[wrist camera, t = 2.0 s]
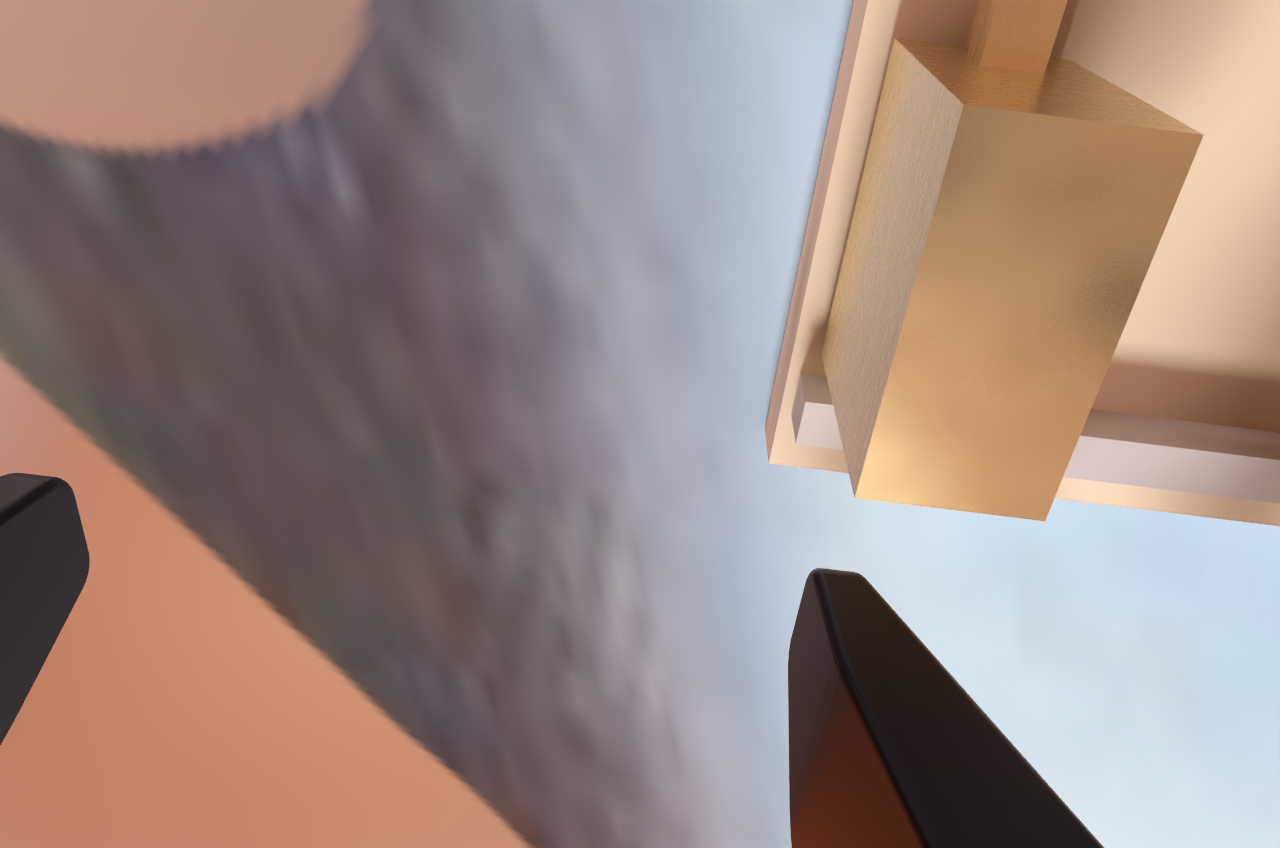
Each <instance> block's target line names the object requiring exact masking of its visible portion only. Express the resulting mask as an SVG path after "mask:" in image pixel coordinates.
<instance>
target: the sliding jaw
mask: <svg viewBox="0 0 1280 848" xmlns="http://www.w3.org/2000/svg"><path fill="white" fill-rule="evenodd" d="M1067 1H1068V0H979V1H978V5H977V8H976V12H975V16H974V19H973V23H972V27H971V30H970V34H969V38H968V42H967V45H966V47H964V46H956V45H948V44H940V43H932V42H924V41H916V40H908V39H900V38H894V41H893V46H892V50H891V54H890V59H889V63H888V67H887V72H886V76H885V80H884V85H883V89H882V93H881V97H880V102H879V106H878V110H877V115H876V119H875V123H874V128H873V132H872V136H871V141H870V145H869V149H868V153H867V158H866V162H865V166H864V171H863V175H862V179H861V184H860V188H859V192H858V197H857V201H856V205H855V209H854V214H853V218H852V222H851V227H850V231H849V235H848V240H847V244H846V248H845V253H844V257H843V261H842V265H841V270H840V274H839V278H838V283H837V287H836V291H835V296H834V300H833V304H832V309H831V313H830V317H829V321H828V326H827V330H826V334H825V339H824V343H823V347H822V352H821V356H822V360H823V364H824V369H825V373H826V377H827V381H828V386H829V390H830V394H831V399H832V403H833V407H834V411H835V416H836V420H837V424H838V428H839V433H840V437H841V441H842V446H843V450H844V454H845V458H846V463H847V467H848V471H849V476H850V480H851V484H852V488H853V493H854V497H855V498H861V499H869V500H877V501H885V502H893V503H901V504H910V505H918V506H926V507H934V508H942V509H950V510H958V511H967V512H975V513H983V514H991V515H999V516H1007V517H1015V518H1024V519H1032V520H1040V521H1045V520H1046V517H1047V515H1048V512H1049V510H1050V507H1051V505H1052V503H1053V500H1054V498H1055V495H1056V493H1057V490H1058V488H1059V486H1060V483H1061V481H1062V478H1063V476H1064V473H1065V471H1066V469H1067V466H1068V464H1069V461H1070V459H1071V456H1072V454H1073V452H1074V449H1075V447H1076V444H1077V442H1078V439H1079V437H1080V435H1081V432H1082V430H1083V427H1084V425H1085V422H1086V420H1087V417H1088V415H1089V413H1090V410H1091V408H1092V405H1093V403H1094V400H1095V398H1096V396H1097V393H1098V391H1099V388H1100V386H1101V383H1102V381H1103V379H1104V376H1105V374H1106V371H1107V369H1108V366H1109V364H1110V362H1111V359H1112V357H1113V354H1114V352H1115V349H1116V347H1117V345H1118V342H1119V340H1120V337H1121V335H1122V332H1123V330H1124V328H1125V325H1126V323H1127V320H1128V318H1129V315H1130V313H1131V311H1132V308H1133V306H1134V303H1135V301H1136V298H1137V296H1138V293H1139V291H1140V289H1141V286H1142V284H1143V281H1144V279H1145V276H1146V274H1147V272H1148V269H1149V267H1150V264H1151V262H1152V259H1153V257H1154V255H1155V252H1156V250H1157V247H1158V245H1159V242H1160V240H1161V238H1162V235H1163V233H1164V230H1165V228H1166V225H1167V223H1168V221H1169V218H1170V216H1171V213H1172V211H1173V208H1174V206H1175V204H1176V201H1177V199H1178V196H1179V194H1180V191H1181V189H1182V187H1183V184H1184V182H1185V179H1186V177H1187V174H1188V172H1189V170H1190V167H1191V165H1192V162H1193V160H1194V157H1195V155H1196V152H1197V150H1198V148H1199V145H1200V143H1201V140H1202V138H1203V134H1202V133H1200V132H1198V131H1196V130H1194V129H1193V128H1191V127H1189V126H1187V125H1186V124H1184V123H1182V122H1180V121H1178V120H1177V119H1175V118H1173V117H1171V116H1170V115H1168V114H1166V113H1164V112H1162V111H1161V110H1159V109H1157V108H1155V107H1154V106H1152V105H1150V104H1148V103H1146V102H1145V101H1143V100H1141V99H1139V98H1137V97H1136V96H1134V95H1132V94H1130V93H1129V92H1127V91H1125V90H1123V89H1121V88H1120V87H1118V86H1116V85H1114V84H1113V83H1111V82H1109V81H1107V80H1105V79H1104V78H1102V77H1100V76H1098V75H1097V74H1095V73H1093V72H1091V71H1089V70H1088V69H1086V68H1084V67H1082V66H1080V65H1079V64H1077V63H1075V62H1073V61H1072V60H1067V59H1059V58H1052V57H1050V55H1051V51H1052V48H1053V45H1054V42H1055V39H1056V36H1057V32H1058V29H1059V26H1060V23H1061V20H1062V17H1063V13H1064V10H1065V7H1066V4H1067Z"/></svg>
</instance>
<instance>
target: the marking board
mask: <svg viewBox="0 0 1280 848" xmlns="http://www.w3.org/2000/svg"><path fill="white" fill-rule="evenodd" d="M978 1H979V0H854V1H853V6H852V11H851V16H850V21H849V26H848V30H847V35H846V40H845V45H844V50H843V54H842V59H841V64H840V69H839V74H838V79H837V83H836V88H835V93H834V98H833V103H832V108H831V112H830V117H829V122H828V127H827V132H826V136H825V141H824V146H823V151H822V156H821V161H820V165H819V170H818V175H817V180H816V185H815V190H814V194H813V199H812V204H811V209H810V214H809V218H808V223H807V228H806V233H805V238H804V243H803V247H802V252H801V257H800V262H799V267H798V272H797V276H796V281H795V286H794V291H793V296H792V300H791V305H790V310H789V315H788V320H787V325H786V329H785V334H784V339H783V344H782V349H781V354H780V358H779V363H778V368H777V373H776V378H775V382H774V387H773V392H772V397H771V402H770V407H769V411H768V416H767V421H766V426H765V433H766V442H767V451H768V461H769V463H771V464H779V465H787V466H795V467H803V468H812V469H820V470H828V471H836V472H844V473H849V471H848V467H847V463H846V458H845V454H844V450H843V446H842V441H841V437H840V433H839V428H838V424H837V420H836V416H835V411H834V407H833V403H832V399H831V394H830V390H829V386H828V381H827V377H826V373H825V369H824V364H823V360H822V356H821V352H822V347H823V343H824V339H825V334H826V330H827V326H828V321H829V317H830V313H831V309H832V304H833V300H834V296H835V291H836V287H837V283H838V278H839V274H840V270H841V265H842V261H843V257H844V253H845V248H846V244H847V240H848V235H849V231H850V227H851V222H852V218H853V214H854V209H855V205H856V201H857V197H858V192H859V188H860V184H861V179H862V175H863V171H864V166H865V162H866V158H867V153H868V149H869V145H870V141H871V136H872V132H873V128H874V123H875V119H876V115H877V110H878V106H879V102H880V97H881V93H882V89H883V85H884V80H885V76H886V72H887V67H888V63H889V59H890V54H891V50H892V46H893V41H894V38H900V39H908V40H916V41H924V42H932V43H940V44H948V45H956V46H964V47H966V45H967V42H968V38H969V34H970V30H971V27H972V23H973V19H974V16H975V12H976V8H977V5H978ZM1050 57H1052V58H1059V59H1067V60H1072V61H1073V62H1075V63H1077V64H1079V65H1080V66H1082V67H1084V68H1086V69H1088V70H1089V71H1091V72H1093V73H1095V74H1097V75H1098V76H1100V77H1102V78H1104V79H1105V80H1107V81H1109V82H1111V83H1113V84H1114V85H1116V86H1118V87H1120V88H1121V89H1123V90H1125V91H1127V92H1129V93H1130V94H1132V95H1134V96H1136V97H1137V98H1139V99H1141V100H1143V101H1145V102H1146V103H1148V104H1150V105H1152V106H1154V107H1155V108H1157V109H1159V110H1161V111H1162V112H1164V113H1166V114H1168V115H1170V116H1171V117H1173V118H1175V119H1177V120H1178V121H1180V122H1182V123H1184V124H1186V125H1187V126H1189V127H1191V128H1193V129H1194V130H1196V131H1198V132H1200V133H1202V134H1203V138H1202V140H1201V143H1200V145H1199V148H1198V150H1197V152H1196V155H1195V157H1194V160H1193V162H1192V165H1191V167H1190V170H1189V172H1188V174H1187V177H1186V179H1185V182H1184V184H1183V187H1182V189H1181V191H1180V194H1179V196H1178V199H1177V201H1176V204H1175V206H1174V208H1173V211H1172V213H1171V216H1170V218H1169V221H1168V223H1167V225H1166V228H1165V230H1164V233H1163V235H1162V238H1161V240H1160V242H1159V245H1158V247H1157V250H1156V252H1155V255H1154V257H1153V259H1152V262H1151V264H1150V267H1149V269H1148V272H1147V274H1146V276H1145V279H1144V281H1143V284H1142V286H1141V289H1140V291H1139V293H1138V296H1137V298H1136V301H1135V303H1134V306H1133V308H1132V311H1131V313H1130V315H1129V318H1128V320H1127V323H1126V325H1125V328H1124V330H1123V332H1122V335H1121V337H1120V340H1119V342H1118V345H1117V347H1116V349H1115V352H1114V354H1113V357H1112V359H1111V362H1110V364H1109V366H1108V369H1107V371H1106V374H1105V376H1104V379H1103V381H1102V383H1101V386H1100V388H1099V391H1098V393H1097V396H1096V398H1095V400H1094V403H1093V405H1092V408H1091V410H1090V413H1089V415H1088V417H1087V420H1086V422H1085V425H1084V427H1083V430H1082V432H1081V435H1080V437H1079V439H1078V442H1077V444H1076V447H1075V449H1074V452H1073V454H1072V456H1071V459H1070V461H1069V464H1068V466H1067V469H1066V471H1065V473H1064V476H1063V478H1062V481H1061V483H1060V486H1059V488H1058V490H1057V493H1056V495H1055V498H1056V499H1064V500H1072V501H1080V502H1088V503H1096V504H1104V505H1113V506H1121V507H1129V508H1137V509H1145V510H1153V511H1161V512H1169V513H1178V514H1186V515H1194V516H1202V517H1210V518H1218V519H1226V520H1235V521H1243V522H1251V523H1259V524H1267V525H1275V526H1280V0H1068V1H1067V4H1066V7H1065V10H1064V13H1063V17H1062V20H1061V23H1060V26H1059V29H1058V32H1057V36H1056V39H1055V42H1054V45H1053V48H1052V51H1051V55H1050Z"/></svg>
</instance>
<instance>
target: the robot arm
mask: <svg viewBox="0 0 1280 848" xmlns="http://www.w3.org/2000/svg"><path fill="white" fill-rule="evenodd" d="M88 571H89V552H88V548H87V544H86V540H85V536H84V532H83V528H82V524H81V520H80V516H79V512H78V508H77V504H76V500H75V496H74V493H73V490H72V488H71V487H70V486H69V484H68V483H67V482H66V481H64V480H62V479H60V478H57V477H50V476H41V475H33V474H25V473H12V474H7V475H4V476H1V477H0V745H1V743H2V741H3V740H4V738H5V736H6V734H7V732H8V730H9V729H10V727H11V725H12V723H13V722H14V720H15V718H16V716H17V714H18V712H19V711H20V708H21V707H22V705H23V703H24V701H25V699H26V697H27V695H28V693H29V691H30V689H31V687H32V685H33V683H34V681H35V680H36V678H37V676H38V674H39V672H40V670H41V668H42V666H43V664H44V662H45V660H46V658H47V656H48V654H49V653H50V651H51V649H52V647H53V645H54V643H55V641H56V639H57V637H58V635H59V633H60V631H61V629H62V627H63V626H64V624H65V622H66V620H67V618H68V616H69V614H70V612H71V610H72V608H73V606H74V604H75V602H76V600H77V598H78V597H79V595H80V592H81V591H82V589H83V587H84V584H85V582H86V579H87V575H88ZM788 697H789V783H790V826H791V842H792V848H1104V847H1103V846H1102V845H1101V844H1100V843H1099V841H1098V840H1097V839H1096V838H1095V837H1094V836H1093V835H1092V834H1091V832H1090V831H1089V830H1088V829H1087V828H1086V827H1085V826H1084V824H1083V823H1082V822H1081V821H1080V820H1079V819H1078V818H1077V817H1076V815H1075V814H1074V813H1073V812H1072V811H1071V810H1070V809H1069V808H1068V806H1067V805H1066V804H1065V803H1064V802H1063V801H1062V800H1061V799H1060V797H1059V796H1058V795H1057V794H1056V793H1055V792H1054V791H1053V789H1052V788H1051V787H1050V786H1049V785H1048V784H1047V783H1046V782H1045V780H1044V779H1043V778H1042V777H1041V776H1040V775H1039V774H1038V773H1037V771H1036V770H1035V769H1034V768H1033V767H1032V766H1031V765H1030V764H1029V762H1028V761H1027V760H1026V759H1025V758H1024V757H1023V756H1022V755H1021V753H1020V752H1019V751H1018V750H1017V749H1016V748H1015V747H1014V745H1013V744H1012V743H1011V742H1010V741H1009V740H1008V739H1007V738H1006V736H1005V735H1004V734H1003V733H1002V732H1001V731H1000V730H999V729H998V727H997V726H996V725H995V724H994V723H993V722H992V721H991V720H990V718H989V717H988V716H987V715H986V714H985V713H984V712H983V710H982V709H981V708H980V707H979V706H978V705H977V704H976V703H975V701H974V700H973V699H972V698H971V697H970V696H969V695H968V694H967V692H966V691H965V690H964V689H963V688H962V687H961V686H960V685H959V683H958V682H957V681H956V680H955V679H954V678H953V677H952V675H951V674H950V673H949V672H948V671H947V670H946V669H945V668H944V666H943V665H942V664H941V663H940V662H939V661H938V660H937V659H936V657H935V656H934V655H933V654H932V653H931V652H930V651H929V650H928V648H927V647H926V646H925V645H924V644H923V643H922V642H921V641H920V639H919V638H918V637H917V636H916V635H915V634H914V633H913V631H912V630H911V629H910V628H909V627H908V626H907V625H906V624H905V622H904V621H903V620H902V619H901V618H900V617H899V616H898V615H897V613H896V612H895V611H894V610H893V609H892V608H891V607H890V606H889V604H888V603H887V602H886V601H885V600H884V599H883V598H882V596H881V595H880V594H879V593H878V592H877V591H876V590H875V589H874V587H873V586H872V585H871V584H870V583H869V582H868V581H867V580H866V579H865V578H864V577H863V576H862V575H860V574H859V573H855V572H849V571H840V570H832V569H823V568H816V569H814V570H813V571H812V572H811V573H810V574H809V576H808V578H807V580H806V583H805V587H804V591H803V595H802V599H801V603H800V607H799V610H798V614H797V618H796V622H795V626H794V630H793V634H792V638H791V643H790V649H789V660H788Z"/></svg>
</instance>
